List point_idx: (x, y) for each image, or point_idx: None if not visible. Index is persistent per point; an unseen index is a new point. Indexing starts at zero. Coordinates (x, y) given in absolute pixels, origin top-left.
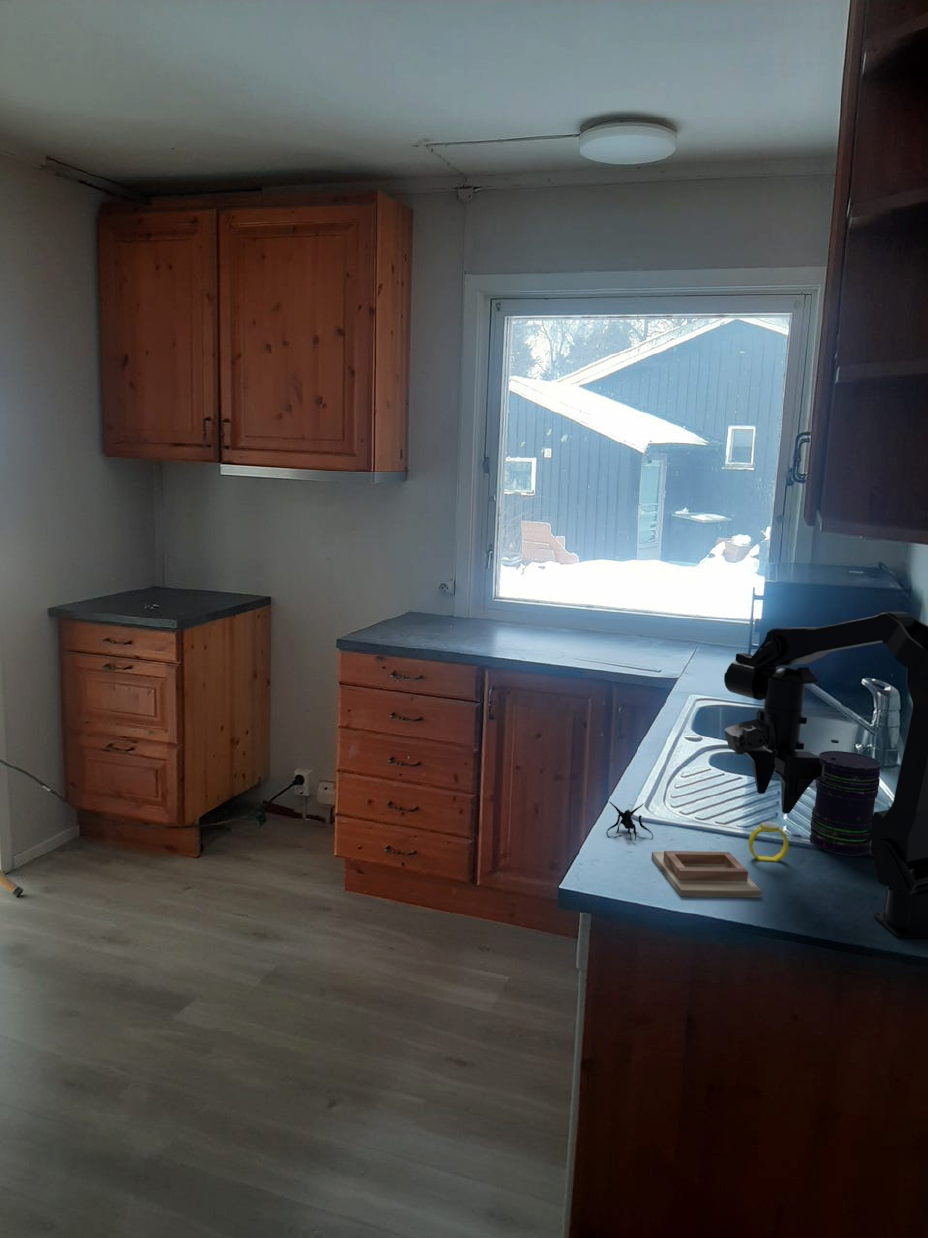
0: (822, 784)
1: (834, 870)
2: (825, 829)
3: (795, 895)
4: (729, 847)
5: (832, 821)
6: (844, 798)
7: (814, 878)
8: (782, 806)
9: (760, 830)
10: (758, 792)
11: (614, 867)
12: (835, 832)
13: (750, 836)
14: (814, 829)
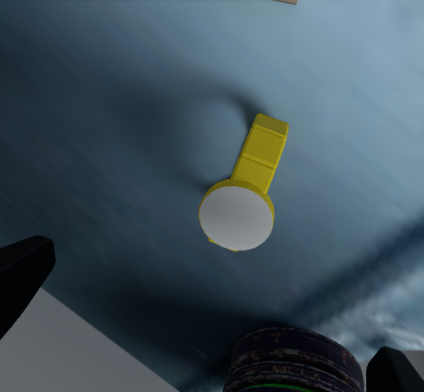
0: None
1: (169, 267)
2: (272, 375)
3: (30, 78)
4: (390, 102)
5: None
6: None
7: (129, 197)
8: (10, 253)
9: (236, 168)
10: (385, 350)
11: None
12: (248, 377)
13: (278, 136)
14: (311, 367)
